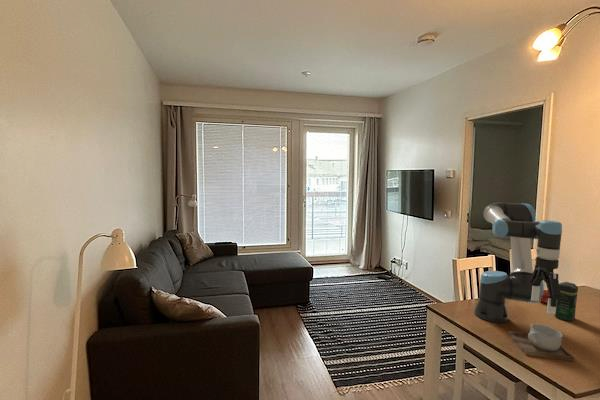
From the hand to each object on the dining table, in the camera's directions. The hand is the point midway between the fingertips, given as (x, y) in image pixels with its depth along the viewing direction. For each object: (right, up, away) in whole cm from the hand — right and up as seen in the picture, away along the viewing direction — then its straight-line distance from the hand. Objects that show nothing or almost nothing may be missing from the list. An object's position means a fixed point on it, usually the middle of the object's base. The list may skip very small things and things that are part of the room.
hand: (542, 306), depth 134 cm
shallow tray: (-1, -18, +1) cm, 18 cm away
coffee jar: (+36, -17, +32) cm, 50 cm away
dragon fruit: (+41, -15, +51) cm, 67 cm away
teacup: (-1, -18, 0) cm, 17 cm away
